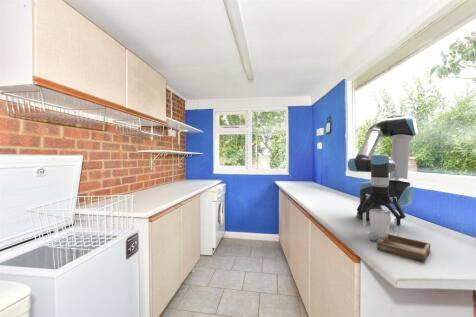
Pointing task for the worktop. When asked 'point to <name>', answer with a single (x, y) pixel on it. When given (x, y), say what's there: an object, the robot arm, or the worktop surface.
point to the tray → (404, 247)
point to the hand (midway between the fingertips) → (379, 228)
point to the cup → (380, 221)
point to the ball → (373, 236)
